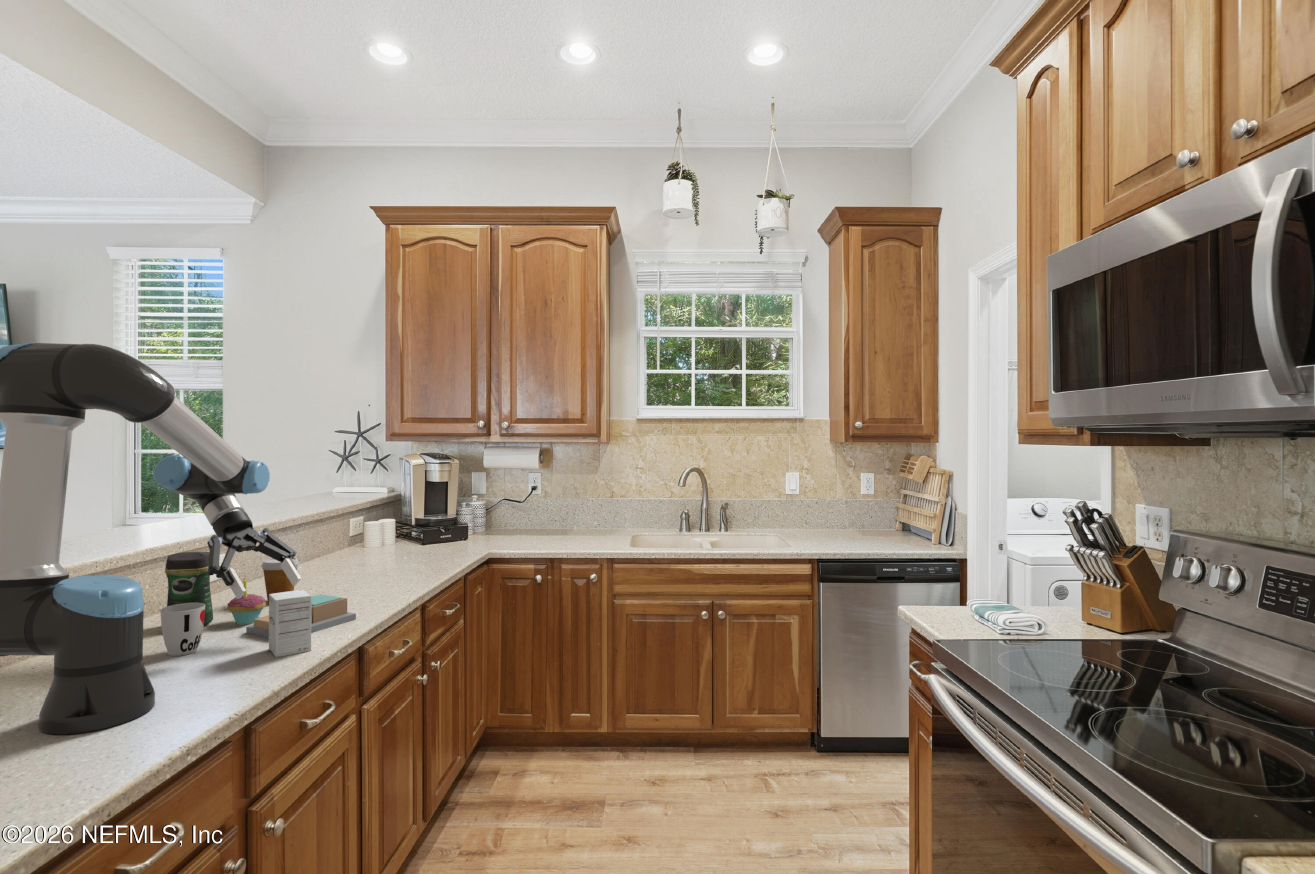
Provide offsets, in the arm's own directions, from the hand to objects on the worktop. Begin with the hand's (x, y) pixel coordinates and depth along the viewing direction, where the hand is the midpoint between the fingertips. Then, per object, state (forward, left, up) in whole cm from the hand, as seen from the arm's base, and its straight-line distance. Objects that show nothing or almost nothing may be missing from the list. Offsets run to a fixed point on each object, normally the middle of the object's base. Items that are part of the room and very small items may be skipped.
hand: (270, 588), depth 151 cm
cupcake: (+9, +22, -13) cm, 27 cm away
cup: (-12, +12, -13) cm, 21 cm away
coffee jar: (+1, +32, -13) cm, 35 cm away
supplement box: (-1, -8, -13) cm, 15 cm away
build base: (+13, +6, -13) cm, 19 cm away
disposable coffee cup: (+27, +34, -13) cm, 45 cm away
